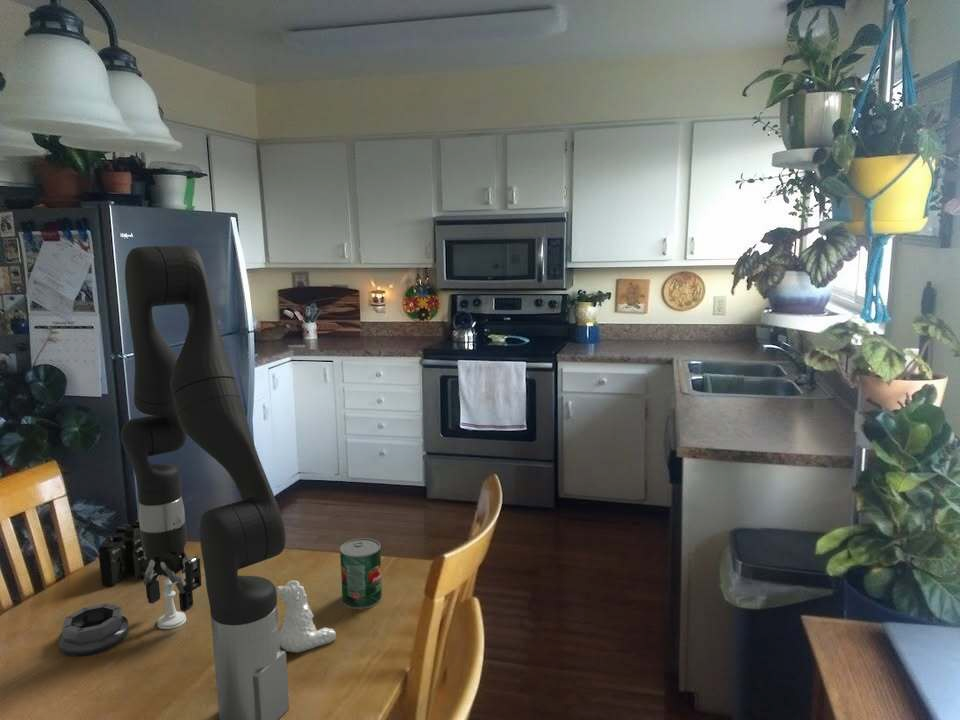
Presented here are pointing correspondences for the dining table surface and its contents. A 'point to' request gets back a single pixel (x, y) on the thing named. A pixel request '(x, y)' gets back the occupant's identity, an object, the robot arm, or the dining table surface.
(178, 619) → the chess piece
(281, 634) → the sitting furry creature
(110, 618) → the ashtray
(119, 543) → the camera
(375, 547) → the canned tomato
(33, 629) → the dining table surface
